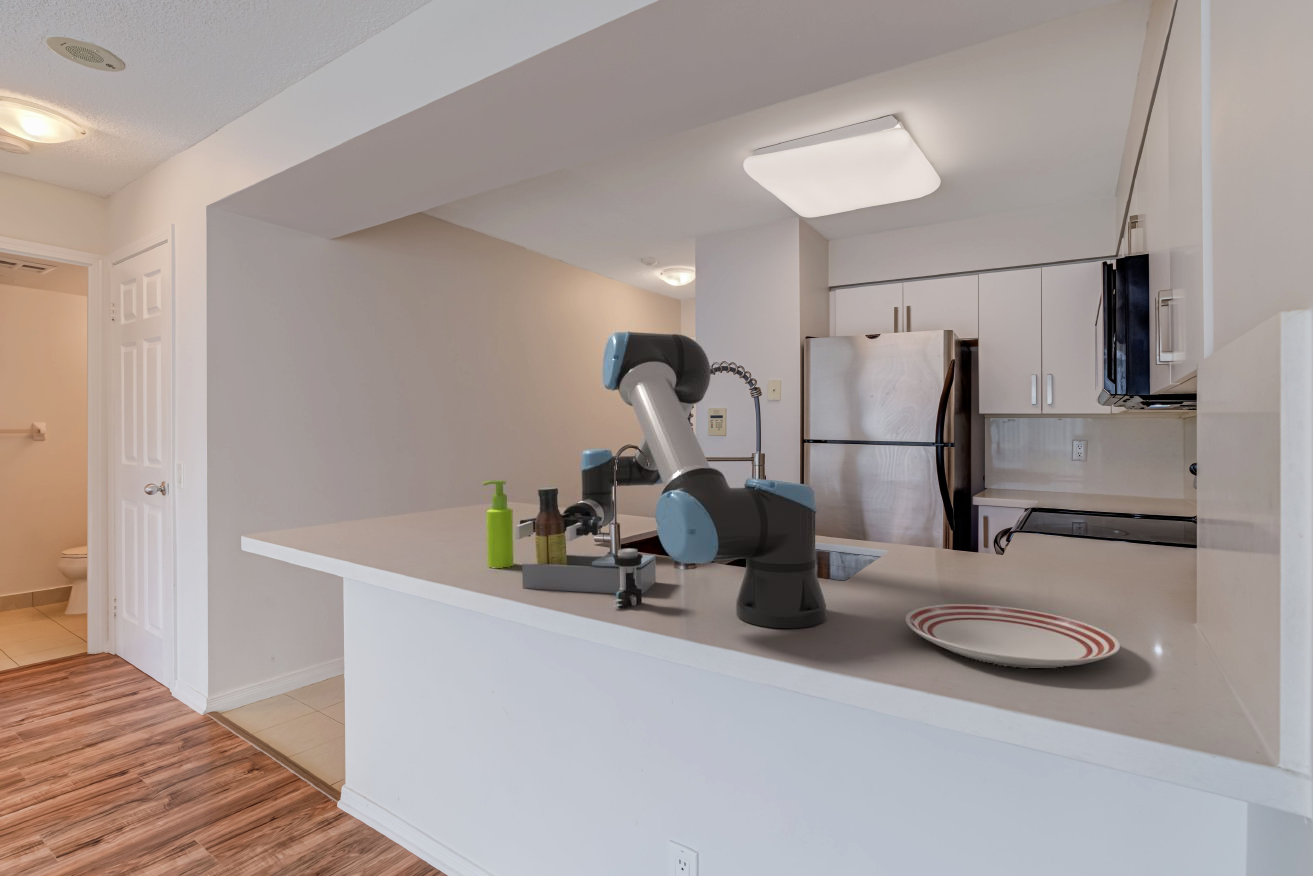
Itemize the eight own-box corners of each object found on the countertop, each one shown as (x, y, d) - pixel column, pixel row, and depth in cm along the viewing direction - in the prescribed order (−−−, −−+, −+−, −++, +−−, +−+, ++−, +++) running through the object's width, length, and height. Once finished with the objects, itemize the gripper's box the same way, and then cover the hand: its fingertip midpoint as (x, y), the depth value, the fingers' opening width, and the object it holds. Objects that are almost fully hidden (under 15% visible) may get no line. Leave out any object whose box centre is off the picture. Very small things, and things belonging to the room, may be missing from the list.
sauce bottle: (570, 579, 140) (569, 486, 140) (563, 586, 134) (562, 489, 134) (540, 579, 141) (539, 486, 141) (532, 586, 135) (530, 489, 134)
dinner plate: (936, 610, 116) (936, 591, 116) (1127, 641, 99) (1127, 619, 98) (878, 654, 95) (878, 631, 94) (1109, 704, 77) (1109, 676, 77)
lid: (655, 558, 137) (655, 555, 137) (640, 567, 127) (640, 564, 127) (609, 556, 140) (609, 553, 140) (592, 565, 129) (592, 561, 129)
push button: (624, 612, 116) (624, 555, 115) (602, 607, 119) (602, 552, 119) (649, 604, 121) (648, 549, 121) (627, 599, 124) (626, 546, 124)
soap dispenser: (481, 565, 156) (479, 480, 155) (510, 562, 159) (509, 479, 158) (485, 570, 150) (484, 482, 150) (515, 567, 153) (514, 480, 153)
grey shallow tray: (655, 582, 137) (655, 558, 137) (641, 595, 127) (641, 569, 127) (544, 576, 144) (544, 553, 144) (522, 588, 134) (522, 563, 133)
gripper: (629, 535, 152) (596, 554, 130) (538, 532, 158) (491, 549, 136) (629, 503, 152) (595, 516, 130) (537, 500, 158) (491, 513, 136)
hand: (542, 533), depth 133 cm, fingers open, 10 cm apart
